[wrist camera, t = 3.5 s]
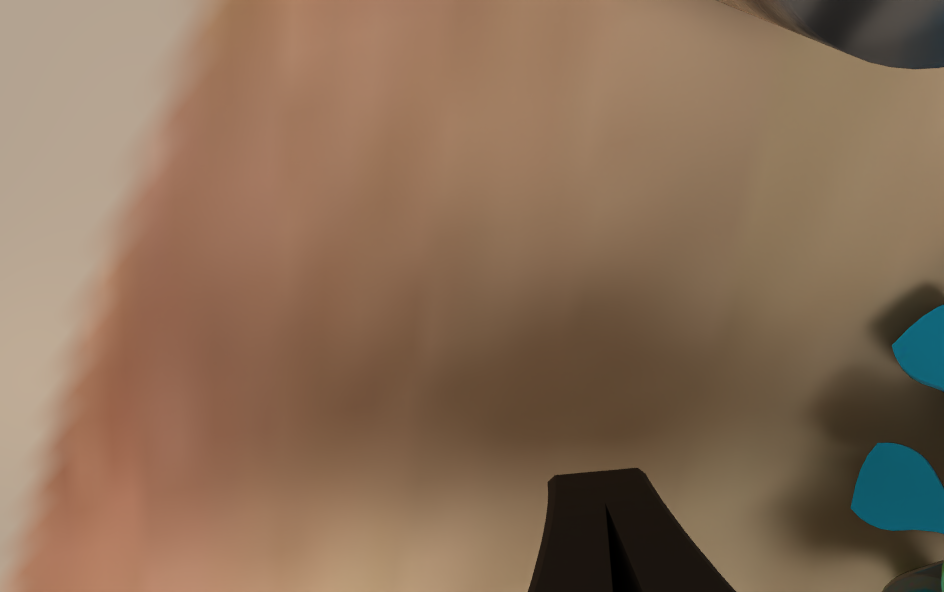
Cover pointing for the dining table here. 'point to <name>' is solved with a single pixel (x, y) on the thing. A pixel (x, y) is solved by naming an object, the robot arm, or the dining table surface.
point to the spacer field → (863, 27)
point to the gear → (908, 463)
